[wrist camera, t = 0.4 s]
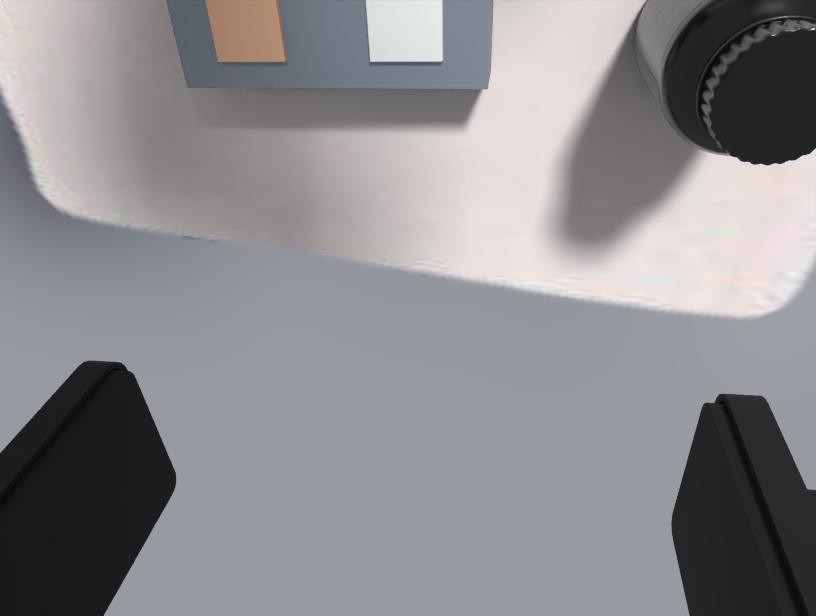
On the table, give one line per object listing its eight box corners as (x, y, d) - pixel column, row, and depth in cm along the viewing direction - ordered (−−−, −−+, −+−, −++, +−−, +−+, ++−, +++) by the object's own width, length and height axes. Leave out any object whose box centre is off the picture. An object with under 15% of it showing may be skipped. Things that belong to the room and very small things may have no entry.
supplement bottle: (800, 47, 31) (924, 133, 21) (665, 121, 34) (720, 226, 24) (749, -85, 28) (865, -56, 18) (607, 9, 31) (643, 77, 21)
